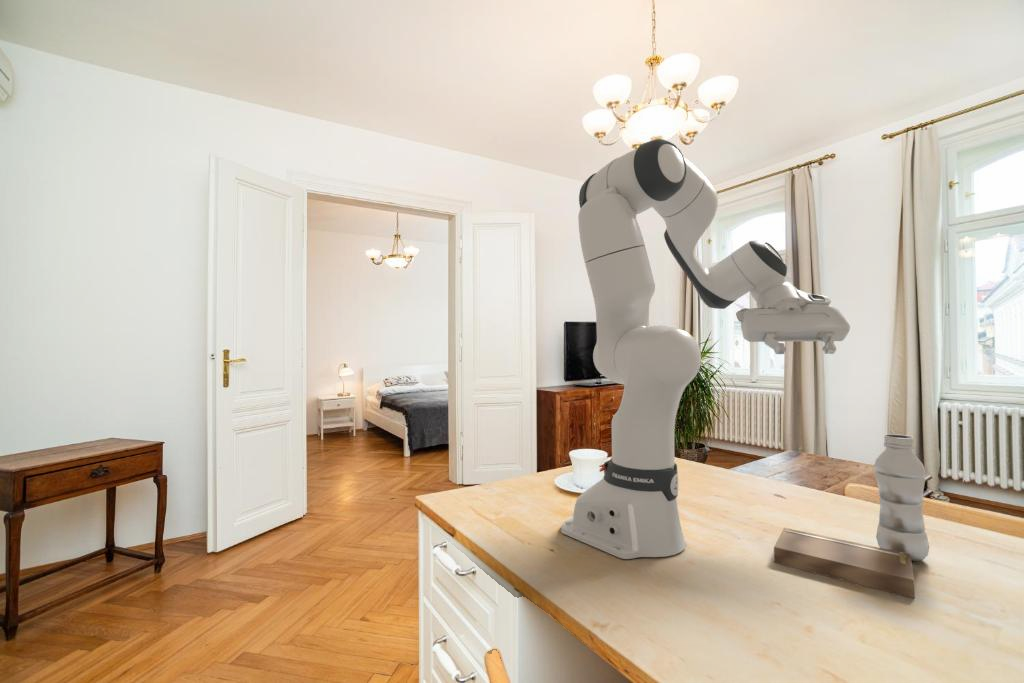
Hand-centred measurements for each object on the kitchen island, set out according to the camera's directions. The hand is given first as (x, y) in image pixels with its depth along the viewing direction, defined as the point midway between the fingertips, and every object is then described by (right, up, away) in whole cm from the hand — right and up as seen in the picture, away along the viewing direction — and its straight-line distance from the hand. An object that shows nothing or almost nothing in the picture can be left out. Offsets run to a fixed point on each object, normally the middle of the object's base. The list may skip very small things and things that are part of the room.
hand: (806, 351), depth 91 cm
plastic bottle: (+5, -34, -17) cm, 38 cm away
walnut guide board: (-7, -34, -20) cm, 40 cm away
